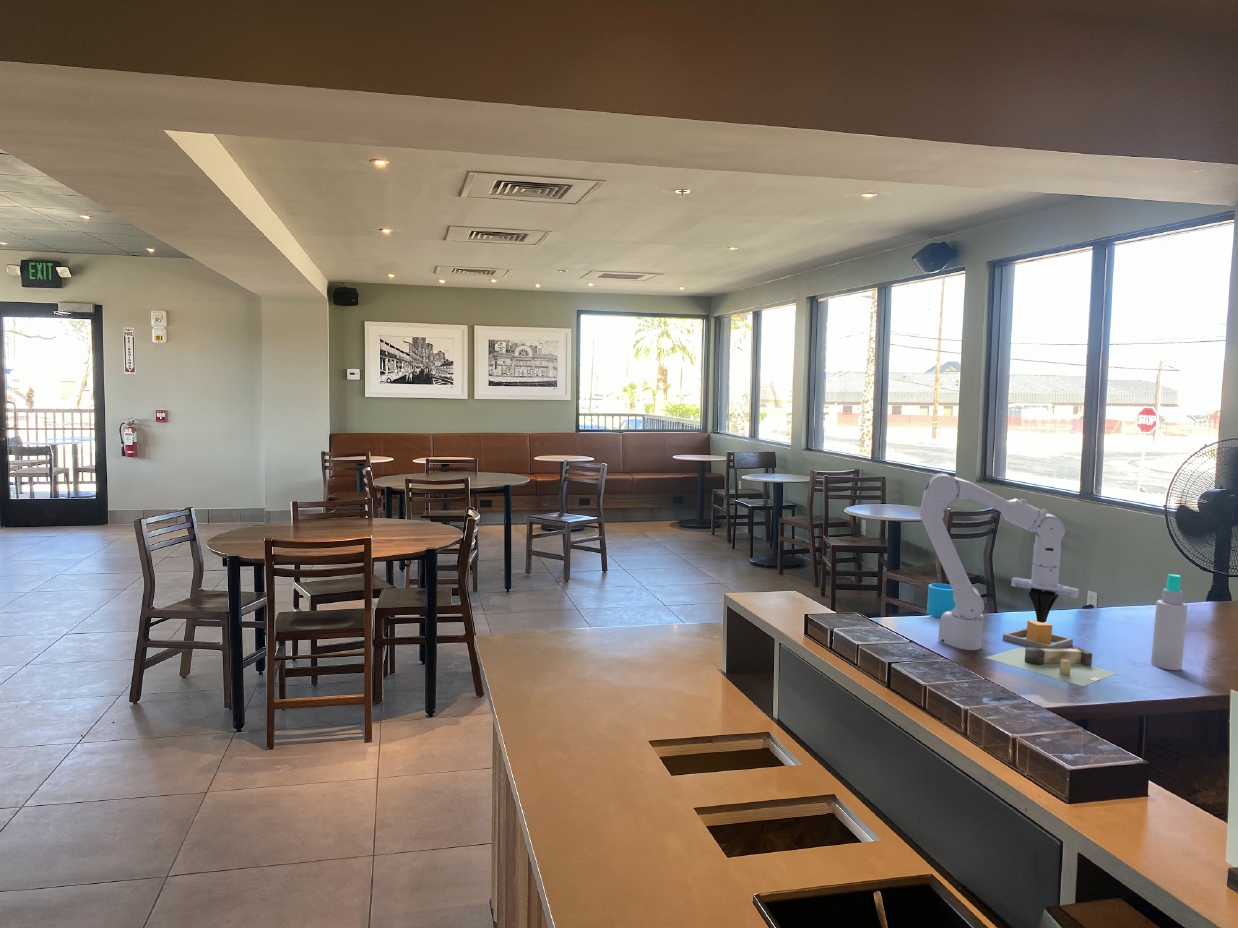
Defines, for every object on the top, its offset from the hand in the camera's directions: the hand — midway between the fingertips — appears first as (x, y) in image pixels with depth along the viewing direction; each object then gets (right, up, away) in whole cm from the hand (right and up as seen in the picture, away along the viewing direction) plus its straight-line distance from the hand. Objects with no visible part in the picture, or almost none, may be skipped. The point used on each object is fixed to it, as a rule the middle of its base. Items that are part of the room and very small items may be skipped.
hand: (1041, 621), depth 195 cm
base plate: (-2, -10, -8) cm, 13 cm away
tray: (+4, -9, +11) cm, 14 cm away
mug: (-6, -6, +40) cm, 41 cm away
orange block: (+4, -8, +10) cm, 14 cm away
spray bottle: (+29, -11, -1) cm, 31 cm away
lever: (0, -8, -6) cm, 10 cm away
